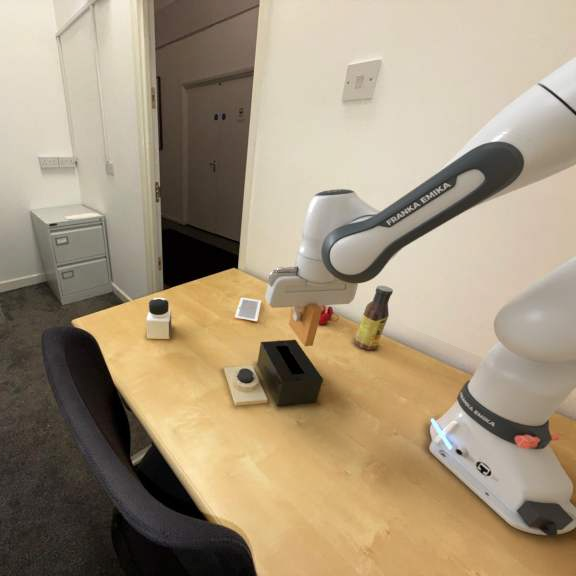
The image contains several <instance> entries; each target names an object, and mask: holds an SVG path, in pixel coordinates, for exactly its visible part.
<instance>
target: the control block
mask: <svg viewBox="0 0 576 576" xmlns="http://www.w3.org/2000/svg"><path fill="white" fill-rule="evenodd" d="M243 368H246V369H249V370H251V371H252V372H253V379H252V382H250V383H247V384H246V383H242V382H241V381H240V380H239V379H238V375H239V371H240V370H241V369H243ZM223 372H224V375H225V378H226V381H227V384H228V387H229V390H230V393H231V397H232V400H233V403H234V406H246V405H247V406H248V405H256V404H257V405H258V404H267V403H268V397H267V395H266V393H265V391H264V388H263V385H262V383H261V381H260V379H259V378H260V377H258V374H257V373H256V370H255V368H254V366H253V365H240V366H228V367H224V369H223Z"/></svg>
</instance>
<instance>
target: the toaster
mask: <svg viewBox="0 0 576 576" xmlns="http://www.w3.org/2000/svg"><path fill="white" fill-rule="evenodd" d="M258 351H259V352H258V357H257V362H256V363H257V364H256V365H257V367H258V369H259V371H260V373H261V376H262V378H263V380H264V382H265V384H266V386H267V388H268V390H269V392H270V395H271V397H272V400H273V401H274V403H275V405H276V407H277V408H280V407H291V406H302V405H312V404H317V402H318V399H319V395H320V392H321V388H322V386H323V381H324V377H322V375H321V373H319V371H318V369H317V368H316V366H315V365H314V363H313V362H312V361H311V359H310V358H309V356H308V355H307V354H306V353H305V351H304V350H303V348H302V347H301V346H300V344H299V342H298V341H297V339H284V340H272V341H271V340H270V341H269V340H268V341H260V345H259V350H258Z"/></svg>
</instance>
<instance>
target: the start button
mask: <svg viewBox="0 0 576 576" xmlns="http://www.w3.org/2000/svg"><path fill="white" fill-rule="evenodd" d="M238 379H239V380H240V381H241V382H242V383H246V384H247V383H250V382H252V379H253V372H252V371H251V370H249V369H246V368H243V369H241V370H240V371H239V375H238Z"/></svg>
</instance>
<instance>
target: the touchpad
mask: <svg viewBox="0 0 576 576" xmlns="http://www.w3.org/2000/svg"><path fill="white" fill-rule="evenodd" d="M261 303H262V300H261V299H254V298H248V297H242V296H241V297H240V299H239V302H238V305H237V308H236V312H235V315H234V318H237V319H242V320H247V321H254V322H258V319H259V314H260V309H261Z"/></svg>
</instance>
